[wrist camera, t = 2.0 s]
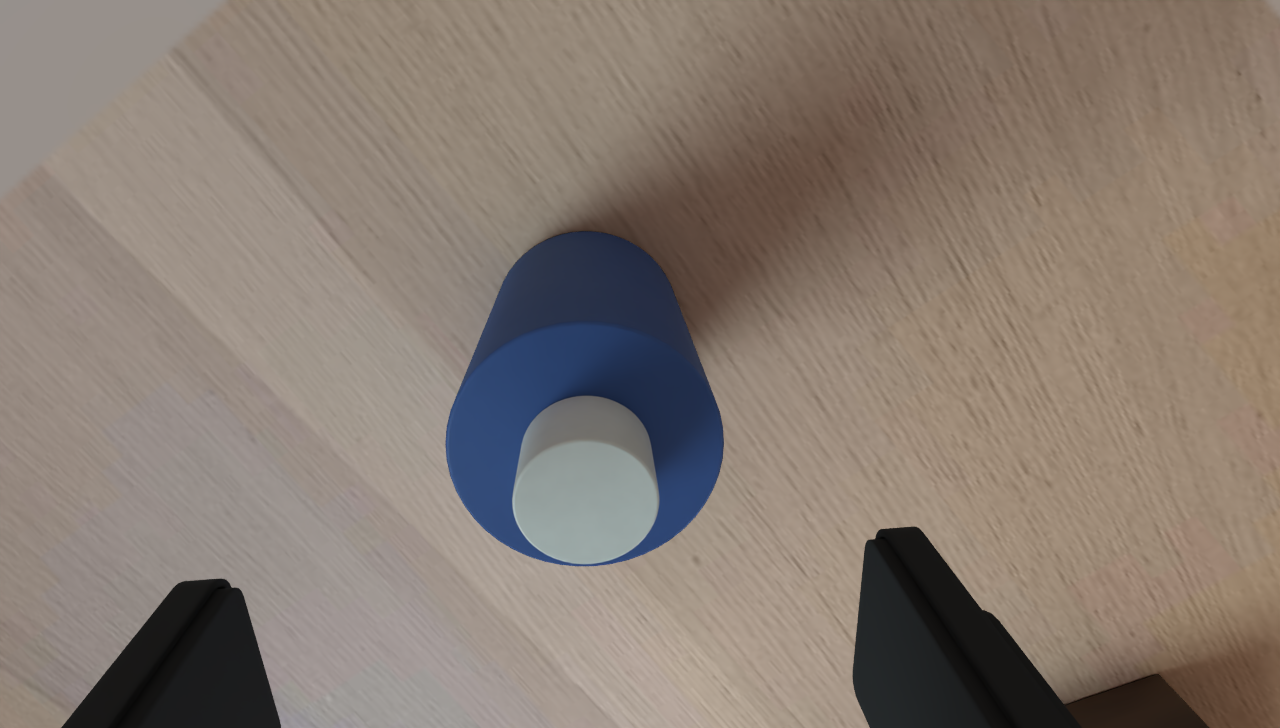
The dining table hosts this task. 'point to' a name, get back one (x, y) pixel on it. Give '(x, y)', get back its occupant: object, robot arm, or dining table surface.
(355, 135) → the dining table surface
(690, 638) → the dining table surface
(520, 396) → the bottle
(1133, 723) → the block
